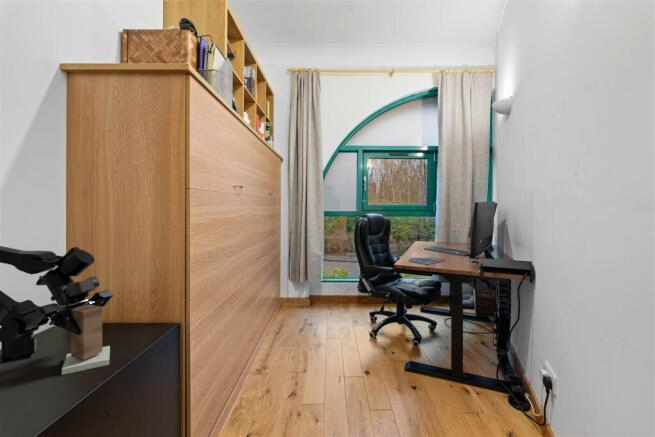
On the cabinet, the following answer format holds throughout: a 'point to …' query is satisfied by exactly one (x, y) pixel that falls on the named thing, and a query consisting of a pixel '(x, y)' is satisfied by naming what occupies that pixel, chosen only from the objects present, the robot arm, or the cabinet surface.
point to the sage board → (86, 362)
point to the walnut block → (87, 332)
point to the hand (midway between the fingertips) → (90, 330)
